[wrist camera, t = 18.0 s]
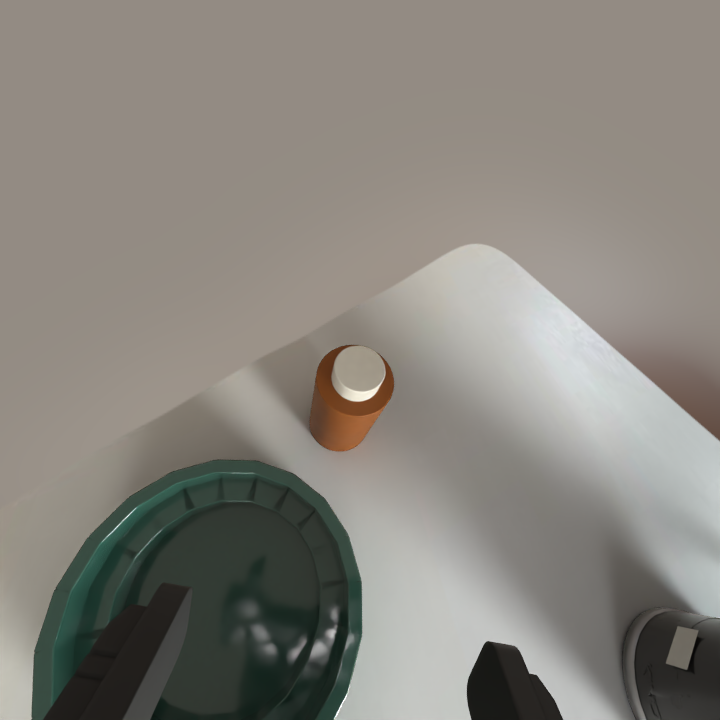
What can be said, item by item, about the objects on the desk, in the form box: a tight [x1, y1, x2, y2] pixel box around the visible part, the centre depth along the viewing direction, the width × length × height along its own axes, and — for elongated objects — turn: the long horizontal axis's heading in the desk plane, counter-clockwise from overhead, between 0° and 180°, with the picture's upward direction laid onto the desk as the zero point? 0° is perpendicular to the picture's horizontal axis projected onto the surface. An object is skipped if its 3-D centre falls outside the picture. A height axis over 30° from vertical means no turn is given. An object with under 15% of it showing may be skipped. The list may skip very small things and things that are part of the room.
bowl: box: [32, 460, 362, 720], centre depth 20 cm, size 16×16×4 cm
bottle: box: [309, 345, 394, 451], centre depth 25 cm, size 5×5×10 cm
